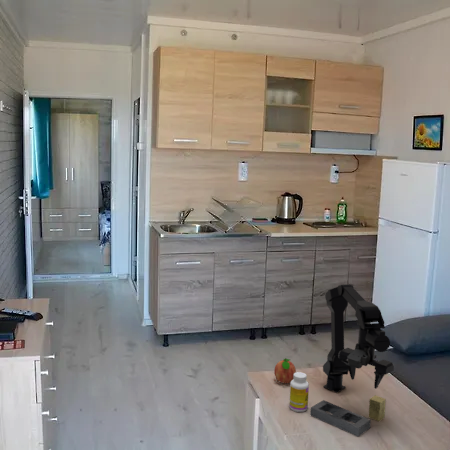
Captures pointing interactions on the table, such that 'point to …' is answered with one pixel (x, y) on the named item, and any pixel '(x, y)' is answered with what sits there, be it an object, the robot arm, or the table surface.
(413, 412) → the table surface
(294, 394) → the supplement bottle
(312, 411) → the grey block holder tray
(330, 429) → the table surface
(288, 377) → the fruit
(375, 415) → the olive grained block
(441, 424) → the table surface
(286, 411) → the table surface
